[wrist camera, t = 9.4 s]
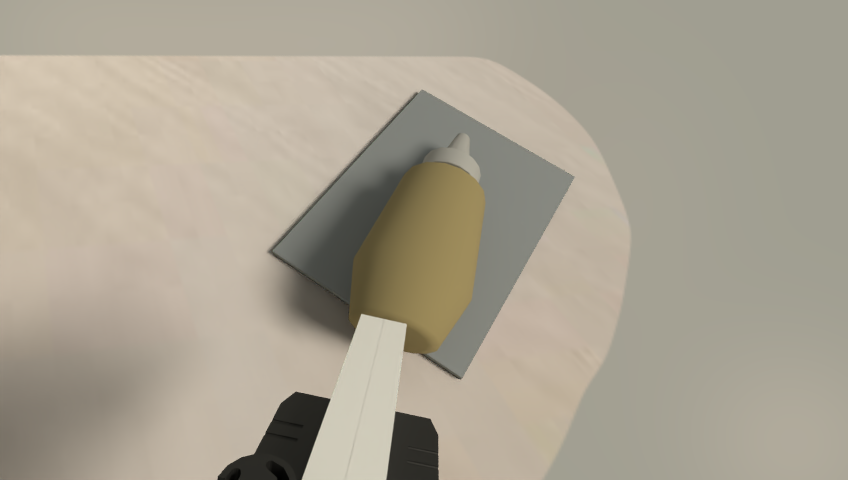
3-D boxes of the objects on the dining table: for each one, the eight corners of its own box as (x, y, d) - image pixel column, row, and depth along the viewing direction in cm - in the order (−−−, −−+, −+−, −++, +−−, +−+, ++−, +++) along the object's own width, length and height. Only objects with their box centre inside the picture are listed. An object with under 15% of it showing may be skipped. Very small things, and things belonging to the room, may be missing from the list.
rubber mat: (273, 254, 32) (272, 250, 32) (421, 94, 42) (422, 89, 41) (460, 379, 30) (462, 377, 30) (571, 180, 40) (574, 176, 39)
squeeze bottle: (343, 283, 22) (437, 78, 32) (320, 327, 29) (404, 146, 38) (481, 345, 23) (531, 128, 33) (428, 373, 30) (483, 186, 40)
